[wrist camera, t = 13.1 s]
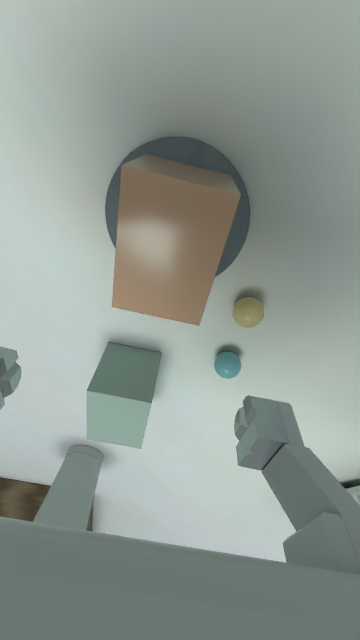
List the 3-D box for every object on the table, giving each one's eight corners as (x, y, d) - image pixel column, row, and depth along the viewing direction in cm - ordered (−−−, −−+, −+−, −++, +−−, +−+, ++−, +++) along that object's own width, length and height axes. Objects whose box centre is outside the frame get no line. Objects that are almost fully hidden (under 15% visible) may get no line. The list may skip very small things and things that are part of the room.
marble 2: (271, 299, 24) (246, 313, 23) (270, 324, 26) (247, 338, 25) (248, 287, 26) (225, 299, 26) (249, 311, 28) (227, 323, 27)
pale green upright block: (161, 353, 32) (151, 403, 26) (150, 398, 37) (140, 448, 31) (108, 342, 32) (86, 390, 26) (105, 389, 37) (86, 438, 31)
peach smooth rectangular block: (230, 175, 20) (241, 194, 14) (200, 279, 25) (199, 325, 19) (146, 153, 20) (121, 164, 14) (133, 264, 25) (111, 306, 19)
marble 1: (231, 388, 29) (222, 376, 32) (250, 369, 29) (240, 359, 32) (213, 371, 28) (206, 361, 31) (233, 351, 28) (224, 343, 31)
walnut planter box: (93, 493, 58) (66, 581, 47) (92, 531, 73) (71, 604, 62) (-14, 475, 57) (-69, 561, 46) (7, 517, 72) (-30, 589, 61)
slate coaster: (272, 159, 20) (274, 160, 19) (223, 295, 27) (223, 298, 26) (111, 117, 19) (108, 117, 18) (104, 269, 26) (102, 271, 25)
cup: (55, 445, 47) (16, 528, 37) (92, 439, 45) (62, 525, 35) (80, 467, 51) (50, 546, 42) (115, 462, 49) (93, 545, 39)
